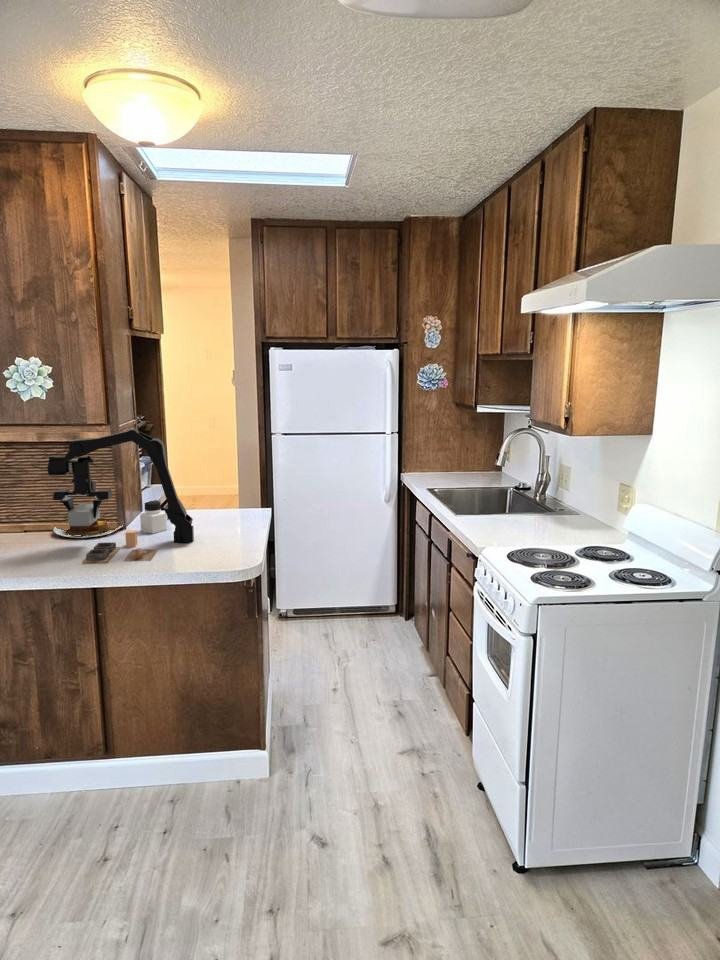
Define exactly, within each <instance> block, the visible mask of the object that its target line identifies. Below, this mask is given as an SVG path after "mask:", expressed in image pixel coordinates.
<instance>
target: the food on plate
mask: <svg viewBox="0 0 720 960" xmlns="http://www.w3.org/2000/svg"><path fill="white" fill-rule="evenodd" d="M121 528H123V525H122V526H119V527H118V528H116V529H115V530H112V531H110V526H107V522H106V520H105V521H97V520H96V521H95V522H94V523H92V524H91V525H90V526H70V529H68V530H66V532H65V531H64V530H61V529H57V528H56V527H55V526H54V527H53V529H52V532H53V533H54V534H56V535H57V536H62V537H64V538H65V537H67V538H76V539H81V538H82V539H84V538H92V537H102V536H106V535H109V534H111V533H114V532H115V531H118V530H119V529H121ZM105 532H109V533H107V534H106V533H105ZM101 533H105V534H101ZM68 534H69V535H81V536H85V537H78V536H71V537H70V536H67V535H68Z"/></svg>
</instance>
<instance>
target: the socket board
mask: <svg viewBox="0 0 720 960" xmlns="http://www.w3.org/2000/svg"><path fill="white" fill-rule="evenodd" d="M120 550H121V547H120V546H117V542H114V541H113V542H98V543H96V544H95V546H93V549H90V551H88V552H87V553H86V556H85V558H84V559H83V560H82V561H81V564H82V565H84V564H85V565H87V564H88V565H89V564H92V565H93V564H109V562H111V560H112V559H113V558H114V557H115V555H117V553H118V552H119V551H120Z"/></svg>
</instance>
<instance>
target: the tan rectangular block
mask: <svg viewBox="0 0 720 960" xmlns="http://www.w3.org/2000/svg"><path fill="white" fill-rule="evenodd" d="M124 535H125V547H126V548H132V547H133V548H135V547H137V545H138V531H137V529H136V530H135V529H133V530H131V529H130V530H129V529H128V530H126V532H125V534H124Z"/></svg>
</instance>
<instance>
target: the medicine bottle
mask: <svg viewBox="0 0 720 960" xmlns="http://www.w3.org/2000/svg"><path fill="white" fill-rule="evenodd" d="M161 504H162V503H161V501H160V500H155V499H154V500H153V499H152V500H147V501H145V502H144V512H142V513H139V517H140V521H139V522H140V530H141V531H140V532H145V533H149V534H157V533H161V532H163V531H167V528H168V527H167V525H168V524H167V514H166V513H165V511H164V512H163V511H162V505H161Z"/></svg>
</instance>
